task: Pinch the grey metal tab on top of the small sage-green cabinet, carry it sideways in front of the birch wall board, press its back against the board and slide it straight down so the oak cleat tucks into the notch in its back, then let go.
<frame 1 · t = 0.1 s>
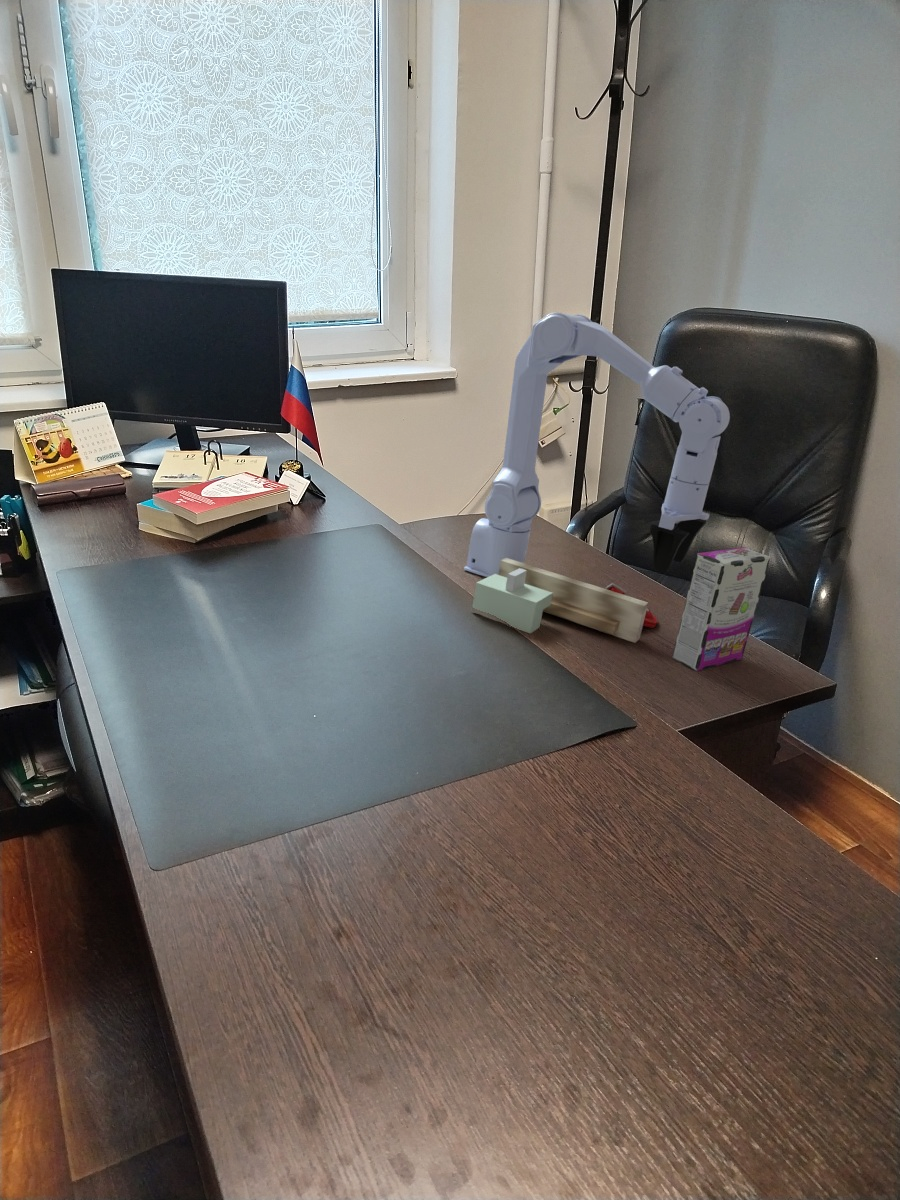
hand: (668, 565, 129), 10 cm above the table, tool pointing down, fingers open, 7 cm apart
wall board: (564, 616, 130), on the table
tracker holder: (624, 617, 135), on the table
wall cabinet: (509, 618, 127), on the table
candy bar box: (705, 660, 123), on the table
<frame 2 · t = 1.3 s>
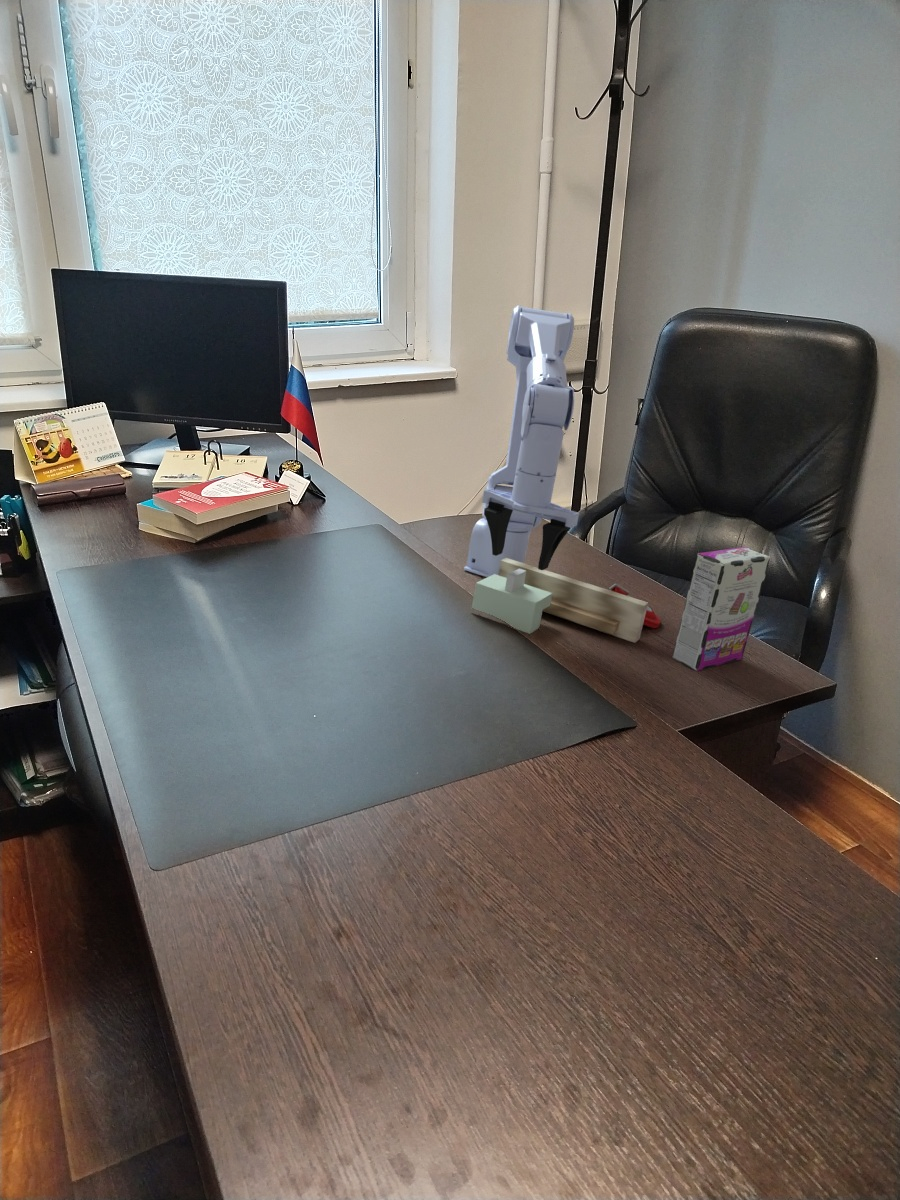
hand: (519, 561, 124), 9 cm above the table, tool pointing down, fingers open, 7 cm apart
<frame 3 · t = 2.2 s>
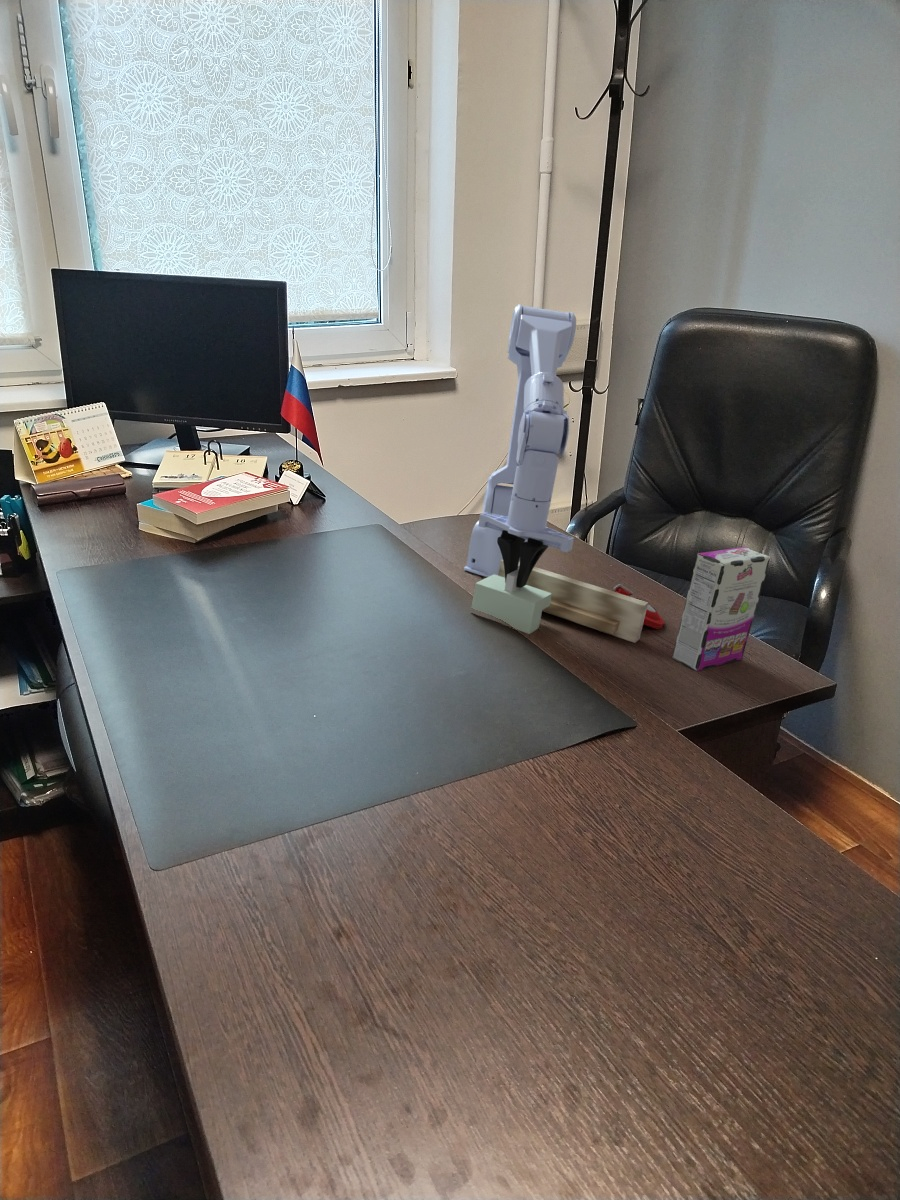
hand: (515, 584, 125), 5 cm above the table, tool pointing down, fingers closed on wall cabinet
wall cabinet: (508, 618, 127), on the table, touching gripper
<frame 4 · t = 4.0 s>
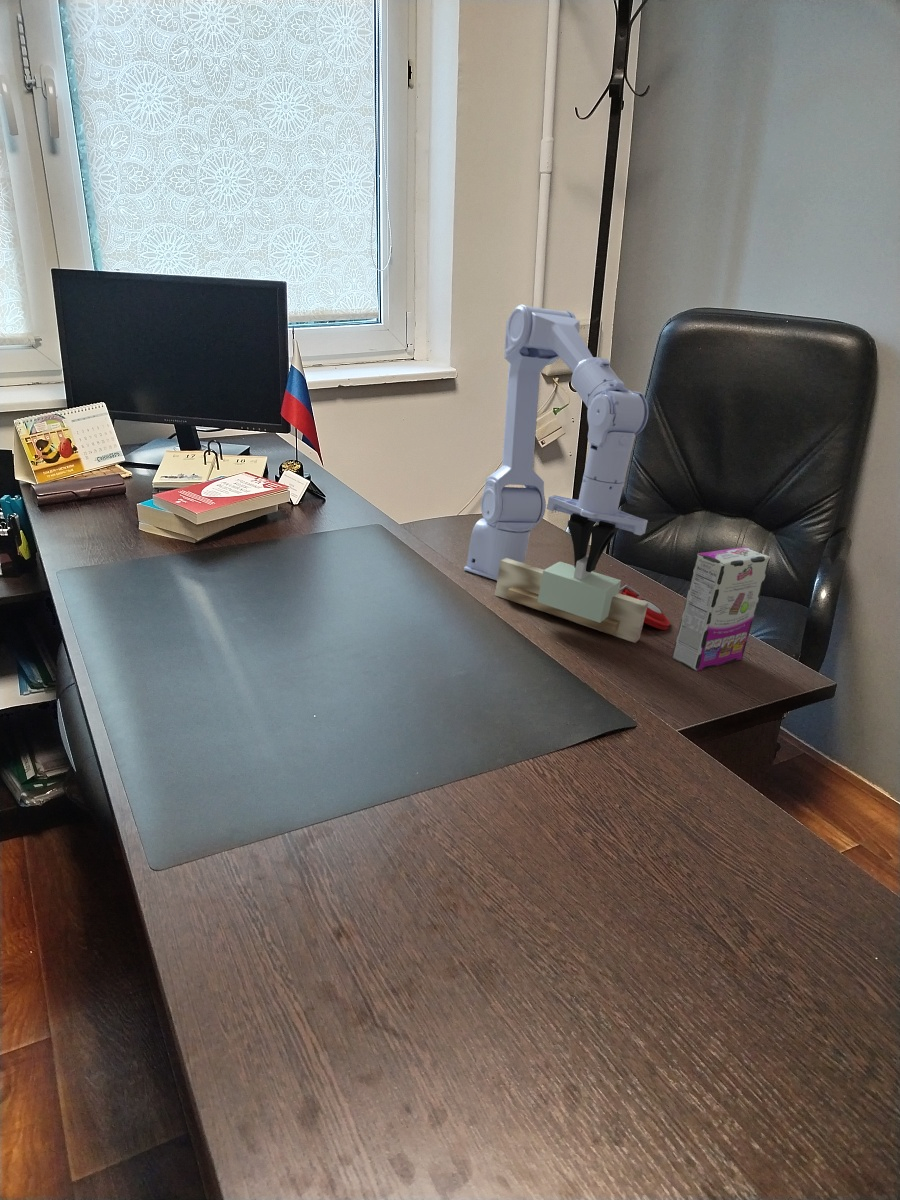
hand: (584, 568, 122), 10 cm above the table, tool pointing down, fingers closed on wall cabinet
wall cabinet: (575, 606, 124), point 4 cm above the table, touching gripper
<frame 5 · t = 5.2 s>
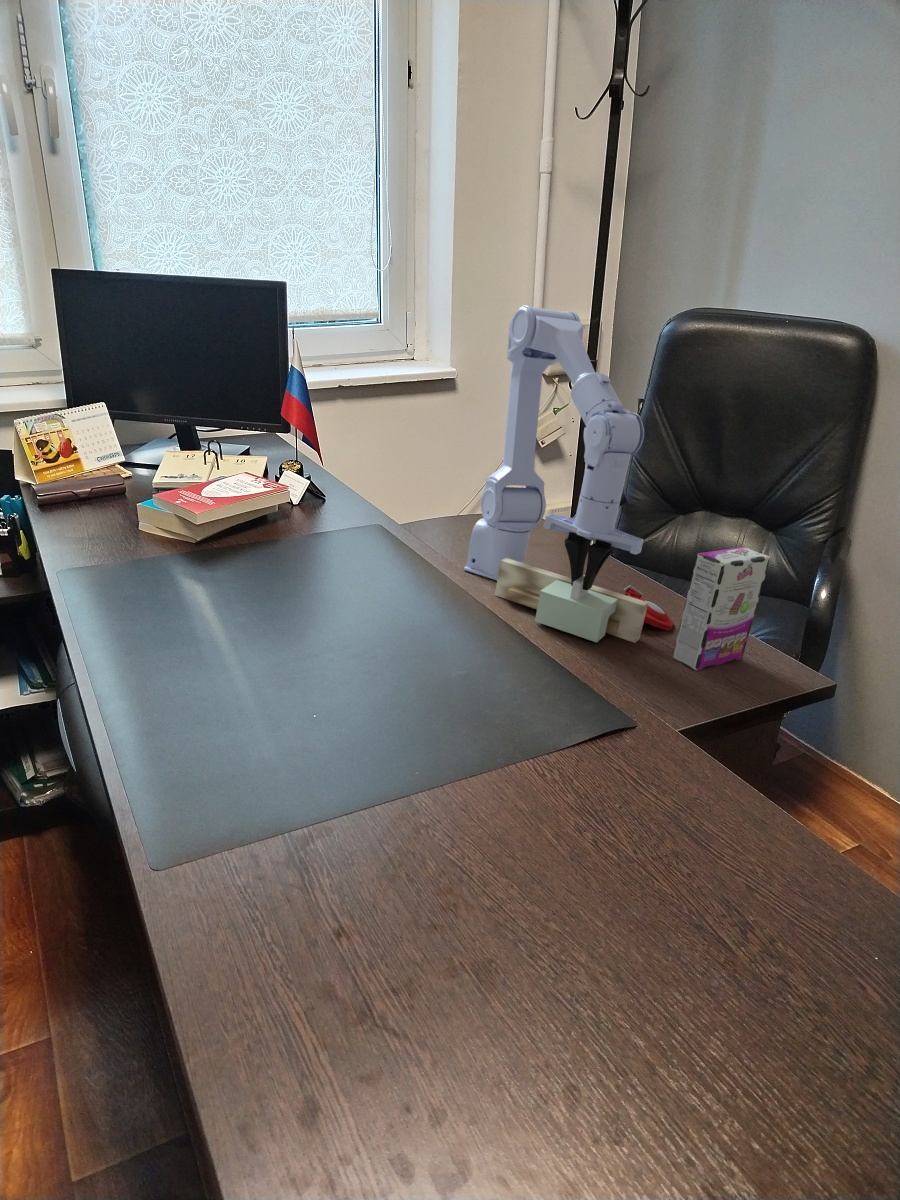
hand: (581, 586, 123), 7 cm above the table, tool pointing down, fingers closed on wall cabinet
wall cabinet: (573, 625, 126), point 1 cm above the table, touching gripper
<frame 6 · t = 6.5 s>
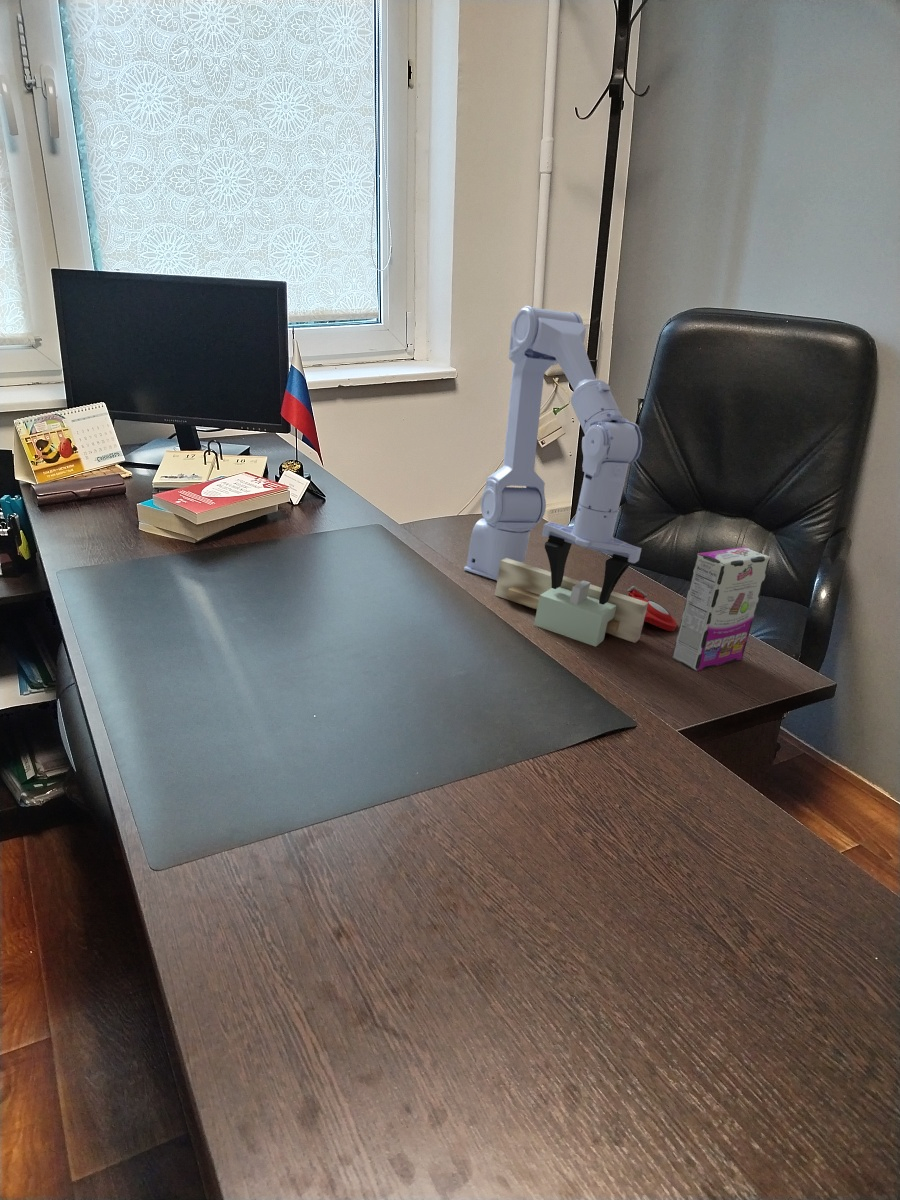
hand: (579, 594, 124), 6 cm above the table, tool pointing down, fingers open, 7 cm apart
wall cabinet: (571, 630, 126), on the table
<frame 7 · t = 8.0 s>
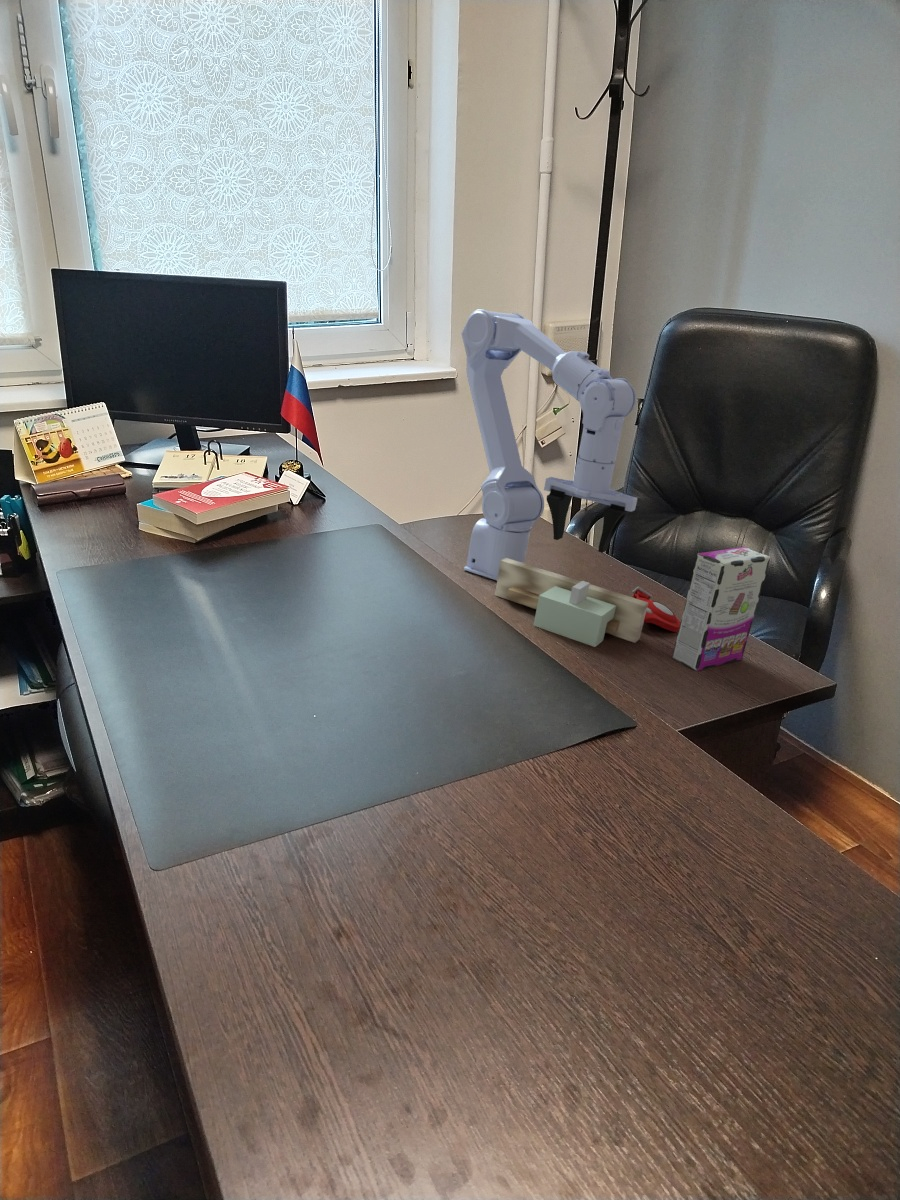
hand: (579, 544, 131), 10 cm above the table, tool pointing down, fingers open, 7 cm apart
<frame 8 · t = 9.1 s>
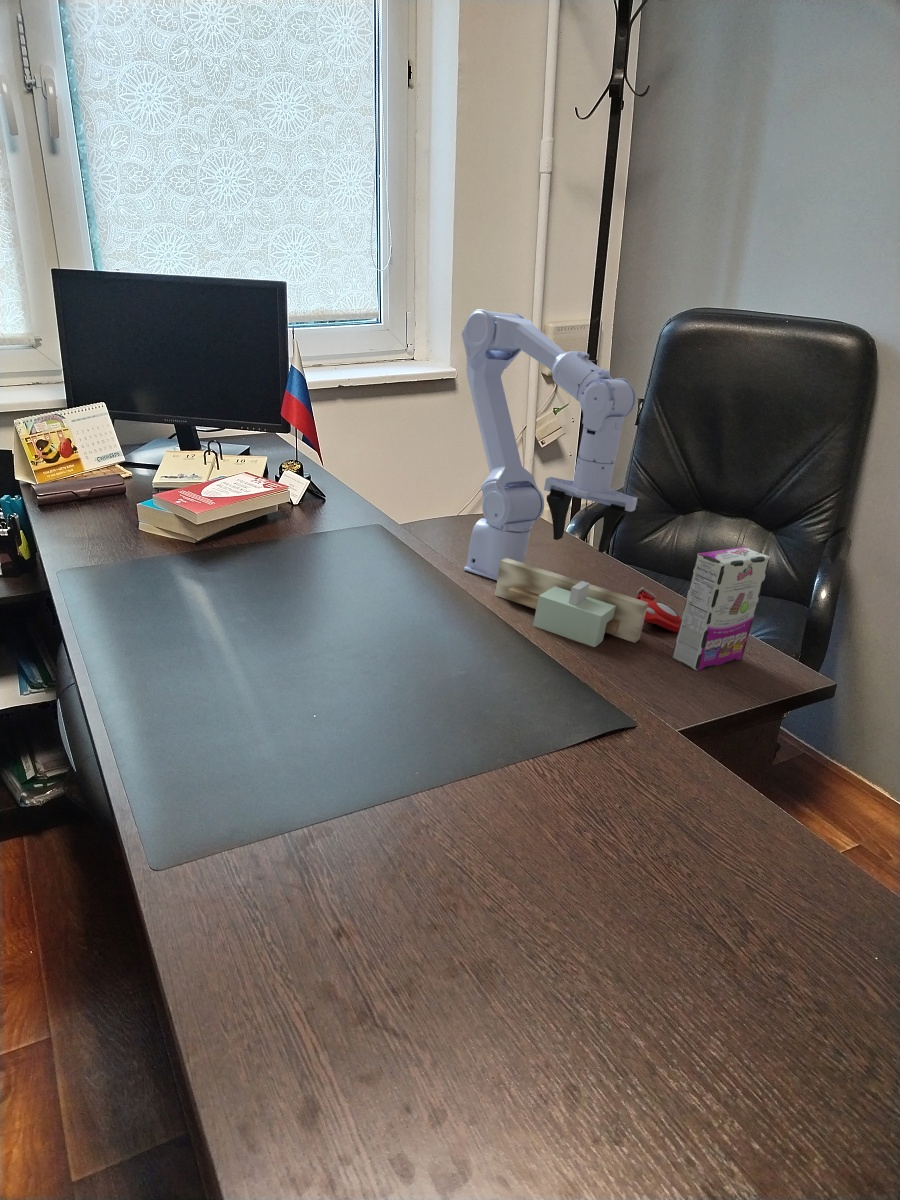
hand: (579, 544, 131), 10 cm above the table, tool pointing down, fingers open, 7 cm apart
at the end: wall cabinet 0.0 cm from the target spot, on the table; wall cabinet tilted 0°; the gripper is holding nothing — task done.
